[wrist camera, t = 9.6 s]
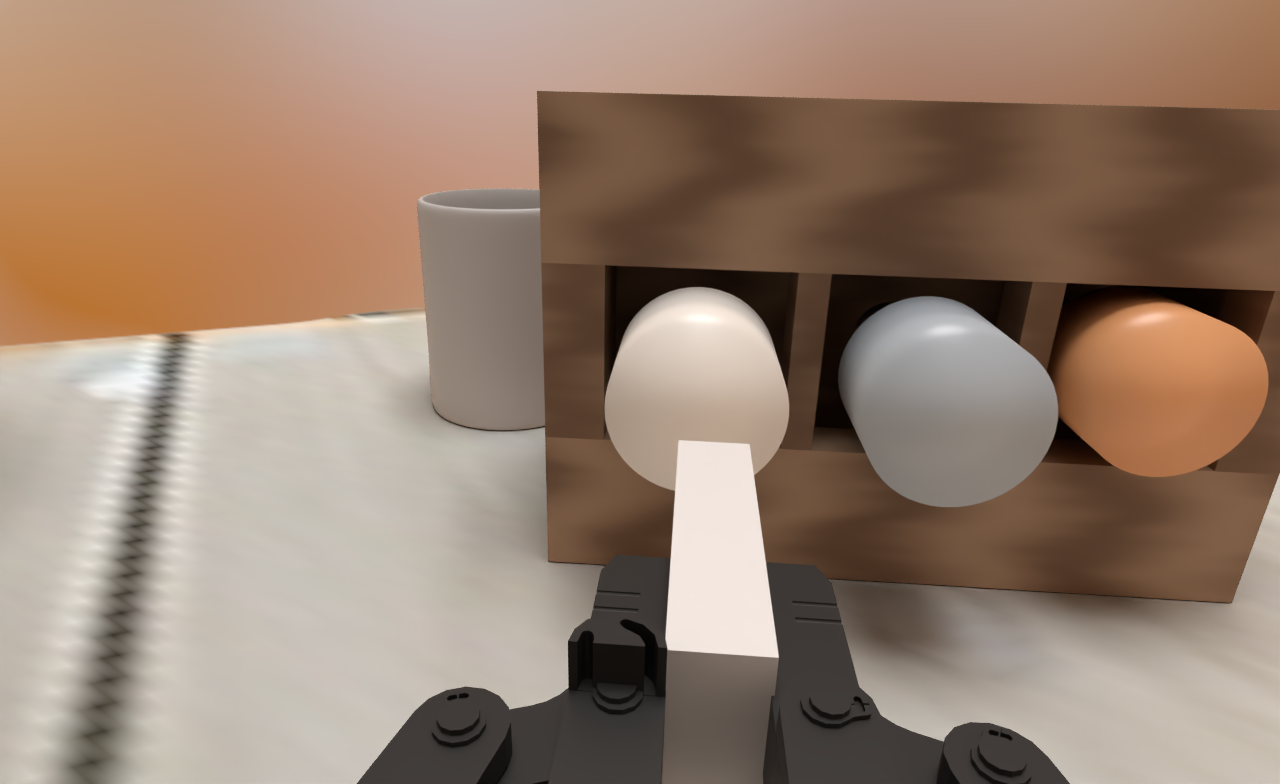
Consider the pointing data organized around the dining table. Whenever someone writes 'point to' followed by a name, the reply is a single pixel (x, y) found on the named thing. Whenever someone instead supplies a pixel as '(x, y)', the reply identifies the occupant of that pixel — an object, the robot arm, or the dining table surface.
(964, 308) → the grey button
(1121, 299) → the orange button
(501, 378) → the mug
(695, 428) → the white button
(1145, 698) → the dining table surface
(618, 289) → the panel
